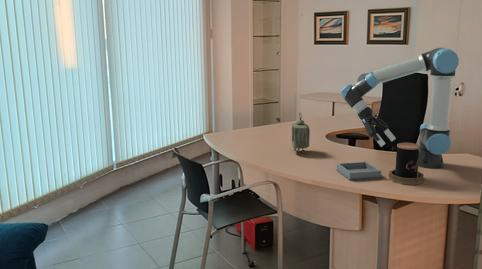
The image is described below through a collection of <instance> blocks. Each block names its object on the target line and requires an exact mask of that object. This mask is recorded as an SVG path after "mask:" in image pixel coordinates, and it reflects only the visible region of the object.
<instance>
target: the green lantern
mask: <svg viewBox="0 0 482 269" xmlns="http://www.w3.org/2000/svg"><path fill="white" fill-rule="evenodd" d="M298 114H299V118H298V119H297V121H296V122H294V123H293V122H292V124H291V146H292V148H293V151H296V150H297V151H296V152H295V155H299V151H300V149H302V150H301V152H302V153H305V149H307V148H309V147H310V135H311V134H310V131H311V130H310V126H309V125H308V124H307V123H305V120H303V119H302V117H303V116H302V112H301V111H300V112H299V113H298Z"/></svg>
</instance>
